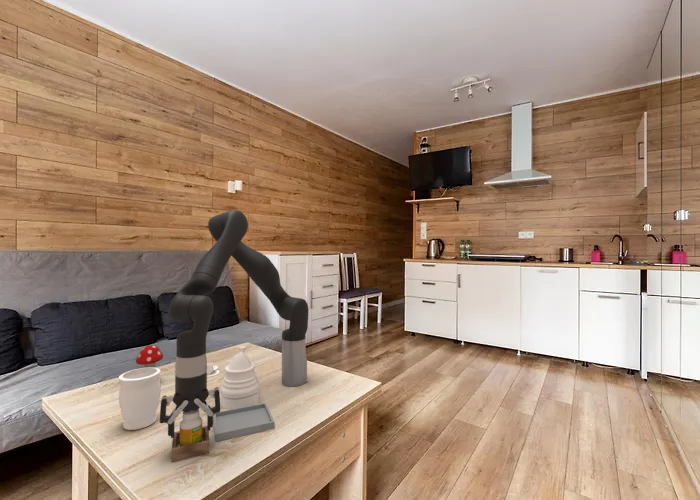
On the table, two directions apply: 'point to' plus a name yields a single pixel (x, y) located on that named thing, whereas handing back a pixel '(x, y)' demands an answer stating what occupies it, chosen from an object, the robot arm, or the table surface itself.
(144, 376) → the jar
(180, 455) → the holder
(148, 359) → the decorative mushroom
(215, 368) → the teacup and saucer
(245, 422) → the tray
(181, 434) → the supplement bottle
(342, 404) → the table surface
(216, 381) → the table surface
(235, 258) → the robot arm
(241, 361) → the honey pot
